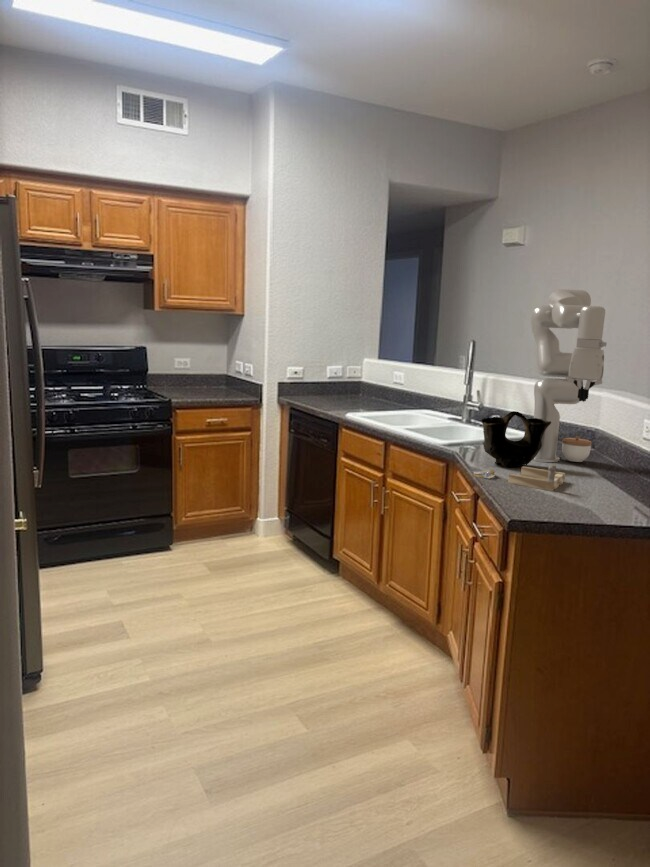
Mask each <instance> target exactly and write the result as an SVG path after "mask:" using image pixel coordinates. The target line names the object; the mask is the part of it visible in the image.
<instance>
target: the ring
mask: <svg viewBox="0 0 650 867" xmlns="http://www.w3.org/2000/svg"><path fill="white" fill-rule="evenodd" d="M473 476H474V477H478V478H482V479H491V478H493V477H495V476H496V471H495V470H490V469H484V470H480V471H473Z"/></svg>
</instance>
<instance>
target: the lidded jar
mask: <svg viewBox="0 0 650 867" xmlns="http://www.w3.org/2000/svg"><path fill="white" fill-rule="evenodd" d="M561 442H562V443H561V452H562V454H563V456H564V457H565V459H566V460H567V461H570V462H576V463H581V462H584V461H585V460H586V459H587V458H588V457H589V455H590V453H591V450H592V444H593V442H592V441H591V440H589V439H585V438H580V436H578V435H576V436H575V437H564V438H562V440H561Z"/></svg>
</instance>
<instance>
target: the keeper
mask: <svg viewBox="0 0 650 867" xmlns="http://www.w3.org/2000/svg"><path fill="white" fill-rule="evenodd" d="M556 467H557V466H556V465H553V464H550V465H548V469H541V468H535V467H530V466H525V465H523V466H521V467H520V468H521V470H520V475H519V474H513V473H510V474H508V480H507V481H508V482H507V483H508V484H511V485H516V486H521V487H527V488H534V489H537V490H544V491H548V492H554V489H555V490H556V489H557V488H559V487H560V486H562V484H564V483H565V477H566V473H565V472H560V471H556V470H557V469H556ZM563 482H564V483H563ZM559 485H560V486H559Z"/></svg>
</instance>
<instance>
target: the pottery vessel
mask: <svg viewBox="0 0 650 867" xmlns="http://www.w3.org/2000/svg"><path fill="white" fill-rule="evenodd" d="M515 416H517V417H518V418H520V419H521V421H522V423H523V425H524V428H525V429H524V436H523V438H522V439H519V440H511V439H509V438H507V435H506V433H507V429H508V426H509V423H510V421H511V420H512V419H513V417H515ZM480 420H481V423H482V429H483V430H482V432H483V436H484V437H483V438H484V441H483V449H484V452H485V453H486V454H488V455H489V456H490V457H492V458H493V459H495V461H494V464H496V465H498V464H500V466H503V467H505V468H518V467H520V466H522V465H523V466H528V465H529V464H530V463H531V461H533V459H534V458H535V457H536V455H537V454H538V452H539V450H540V449H541V447H542V437H543V434H544V432H545V430H546V429H547V427H548V426H549V425H550V424H551V422H548V421H547V422H546V421H544V420H542V419H537V418H534V417H533V418H526V416H525V415H523V413H521V412H519V411H511V412H509V413H506V415H504V416H503V417H500V416H499V417H496V416H493V417H484V418H482V419H480Z"/></svg>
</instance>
